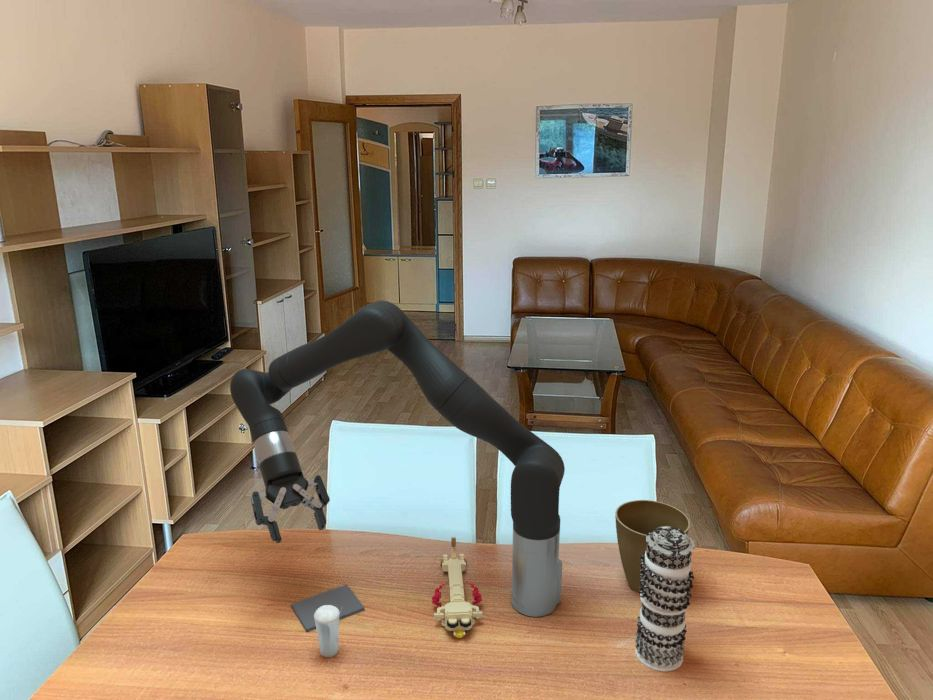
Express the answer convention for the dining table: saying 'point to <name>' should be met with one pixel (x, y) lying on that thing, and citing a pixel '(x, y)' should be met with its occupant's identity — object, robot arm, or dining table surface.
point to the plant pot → (642, 531)
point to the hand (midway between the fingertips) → (301, 535)
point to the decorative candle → (664, 598)
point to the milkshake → (327, 629)
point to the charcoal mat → (332, 597)
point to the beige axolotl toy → (456, 596)
